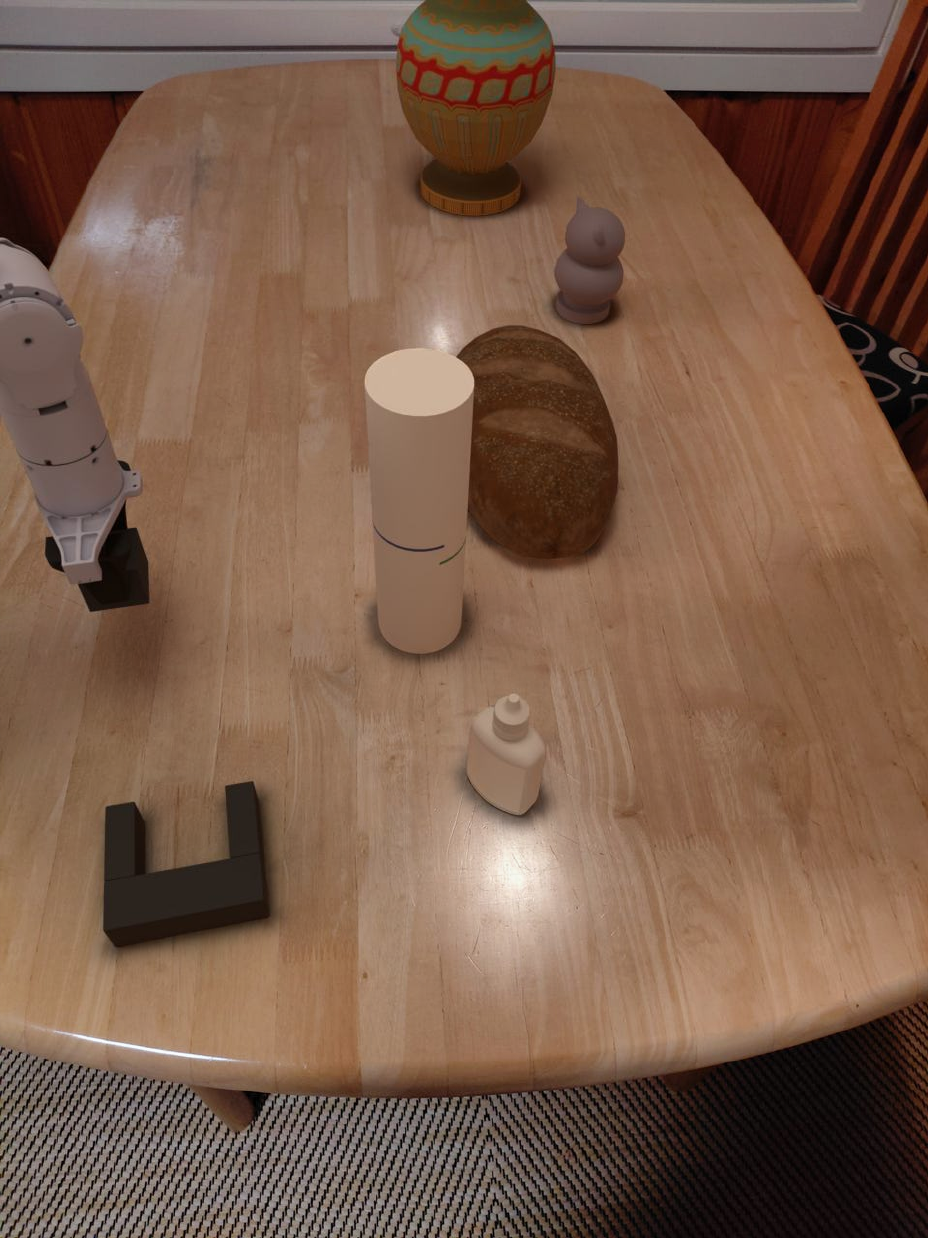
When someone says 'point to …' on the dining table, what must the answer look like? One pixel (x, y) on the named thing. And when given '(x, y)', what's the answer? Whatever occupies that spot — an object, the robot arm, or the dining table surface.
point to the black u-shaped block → (183, 877)
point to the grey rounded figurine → (589, 265)
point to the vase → (474, 96)
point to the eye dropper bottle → (506, 755)
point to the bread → (538, 444)
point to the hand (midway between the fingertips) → (114, 575)
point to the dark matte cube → (136, 578)
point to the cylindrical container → (419, 493)
